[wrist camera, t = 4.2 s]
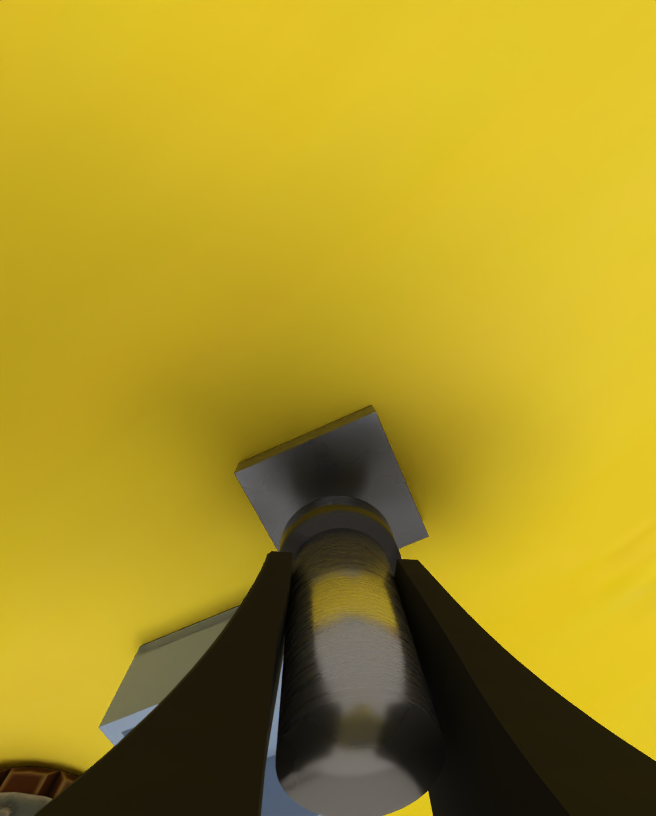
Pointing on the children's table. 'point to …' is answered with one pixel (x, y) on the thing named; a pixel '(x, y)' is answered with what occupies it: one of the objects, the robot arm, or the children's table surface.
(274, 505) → the grey metal square plate
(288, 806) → the bin
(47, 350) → the children's table surface
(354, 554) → the strut
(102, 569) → the children's table surface
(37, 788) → the mug
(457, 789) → the robot arm
